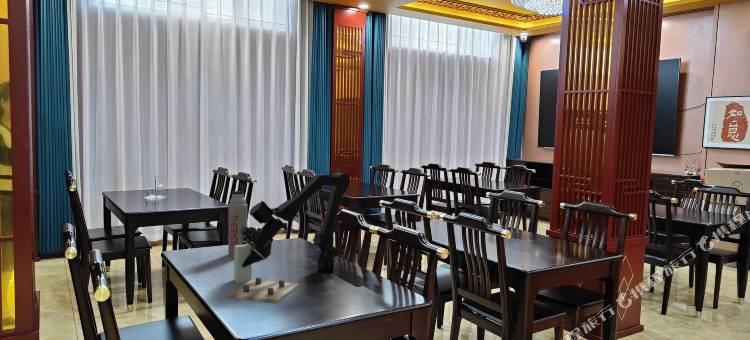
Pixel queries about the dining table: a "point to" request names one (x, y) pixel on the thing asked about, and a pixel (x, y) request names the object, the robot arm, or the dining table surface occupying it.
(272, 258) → the dining table surface
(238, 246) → the sage block
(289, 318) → the dining table surface
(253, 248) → the robot arm
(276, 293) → the peg board
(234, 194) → the thermos bottle
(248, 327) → the dining table surface
